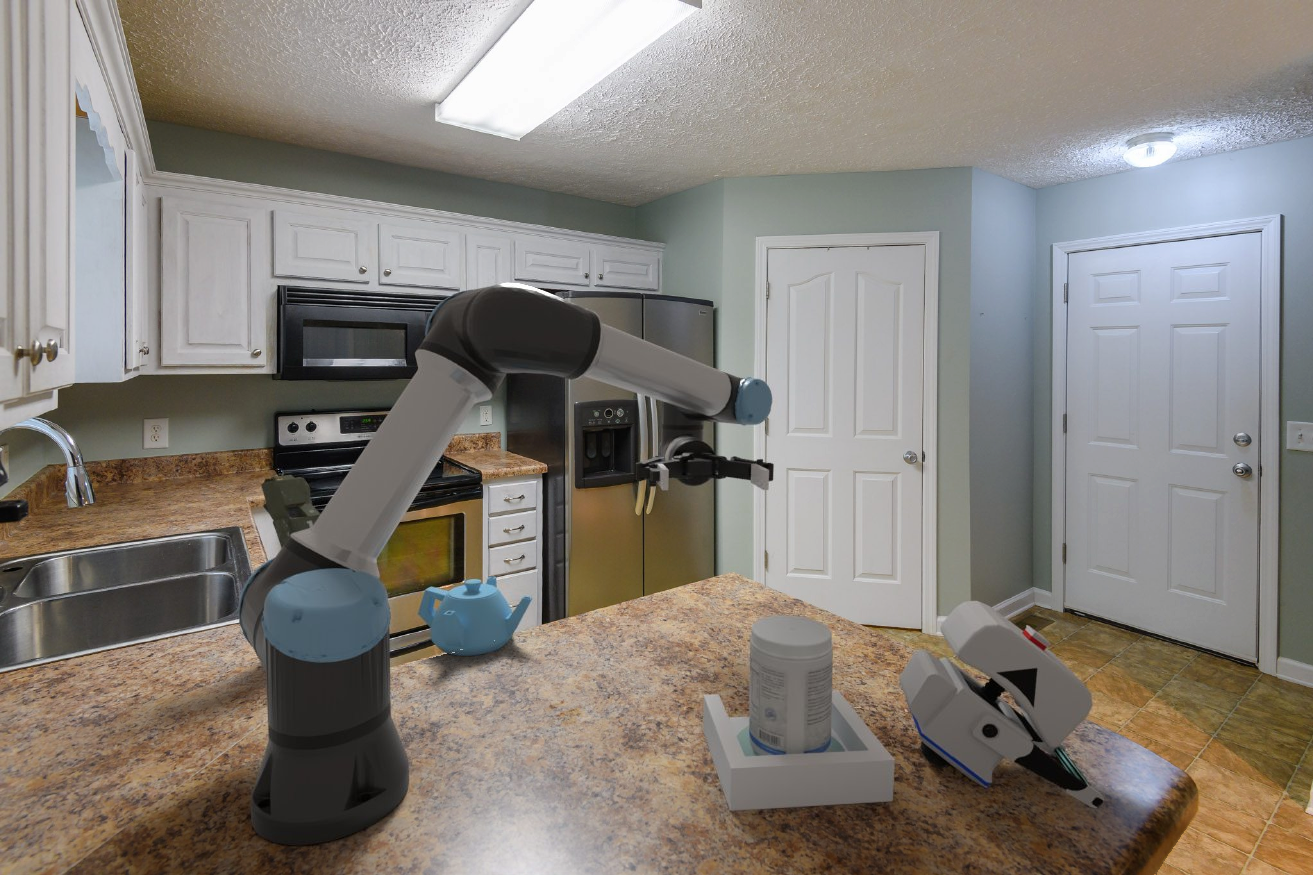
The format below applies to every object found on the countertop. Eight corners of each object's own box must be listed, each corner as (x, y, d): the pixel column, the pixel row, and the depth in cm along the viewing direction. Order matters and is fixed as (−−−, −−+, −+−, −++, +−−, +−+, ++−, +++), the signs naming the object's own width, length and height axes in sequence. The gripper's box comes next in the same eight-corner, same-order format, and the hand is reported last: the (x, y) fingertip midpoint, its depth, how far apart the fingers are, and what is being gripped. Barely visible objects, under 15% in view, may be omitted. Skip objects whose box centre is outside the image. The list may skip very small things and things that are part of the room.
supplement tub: (817, 726, 82) (821, 613, 81) (841, 772, 72) (846, 645, 71) (741, 726, 82) (744, 613, 80) (755, 772, 72) (758, 645, 71)
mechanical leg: (355, 650, 105) (325, 467, 106) (311, 666, 99) (279, 472, 100) (310, 650, 112) (282, 479, 113) (266, 665, 106) (237, 485, 107)
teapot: (498, 619, 122) (497, 563, 121) (535, 645, 110) (534, 583, 109) (415, 637, 113) (414, 577, 112) (445, 668, 101) (445, 601, 100)
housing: (729, 810, 68) (731, 768, 68) (702, 729, 84) (703, 694, 84) (892, 801, 70) (894, 759, 70) (836, 723, 86) (837, 689, 86)
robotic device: (1040, 866, 71) (1171, 736, 68) (879, 740, 73) (997, 608, 70) (1008, 805, 81) (1120, 690, 78) (867, 696, 84) (970, 579, 80)
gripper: (763, 482, 109) (805, 507, 88) (615, 483, 106) (622, 508, 85) (764, 438, 108) (807, 452, 87) (615, 437, 105) (623, 451, 84)
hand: (716, 480), depth 86 cm, fingers open, 13 cm apart
